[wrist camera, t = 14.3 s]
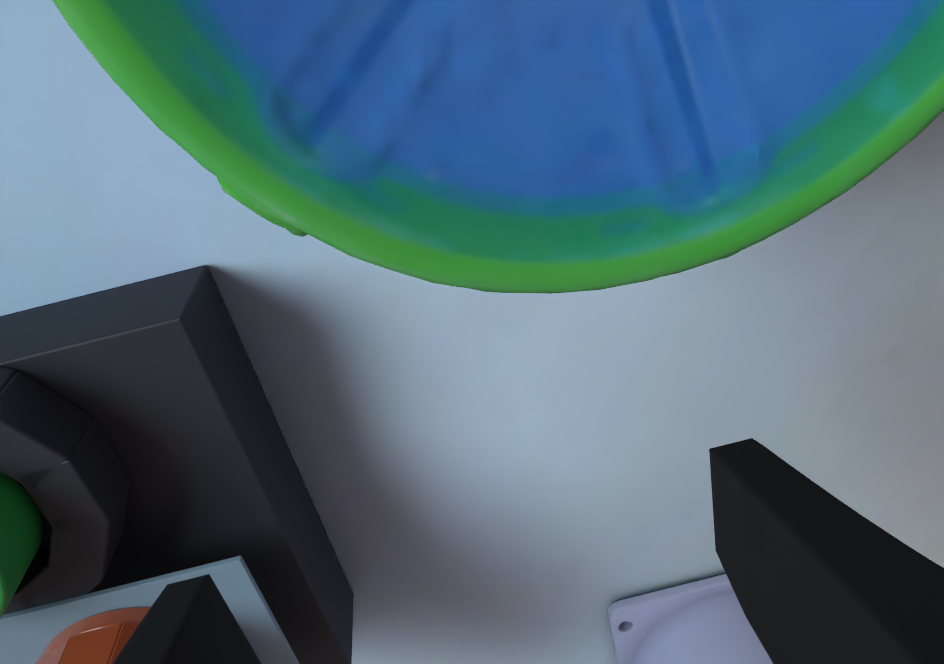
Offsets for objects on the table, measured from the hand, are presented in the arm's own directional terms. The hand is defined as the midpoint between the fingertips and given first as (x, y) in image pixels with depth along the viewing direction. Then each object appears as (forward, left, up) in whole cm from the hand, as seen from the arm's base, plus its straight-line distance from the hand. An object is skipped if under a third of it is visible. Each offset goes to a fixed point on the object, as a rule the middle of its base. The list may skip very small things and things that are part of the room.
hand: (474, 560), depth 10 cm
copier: (-4, +10, -10) cm, 15 cm away
